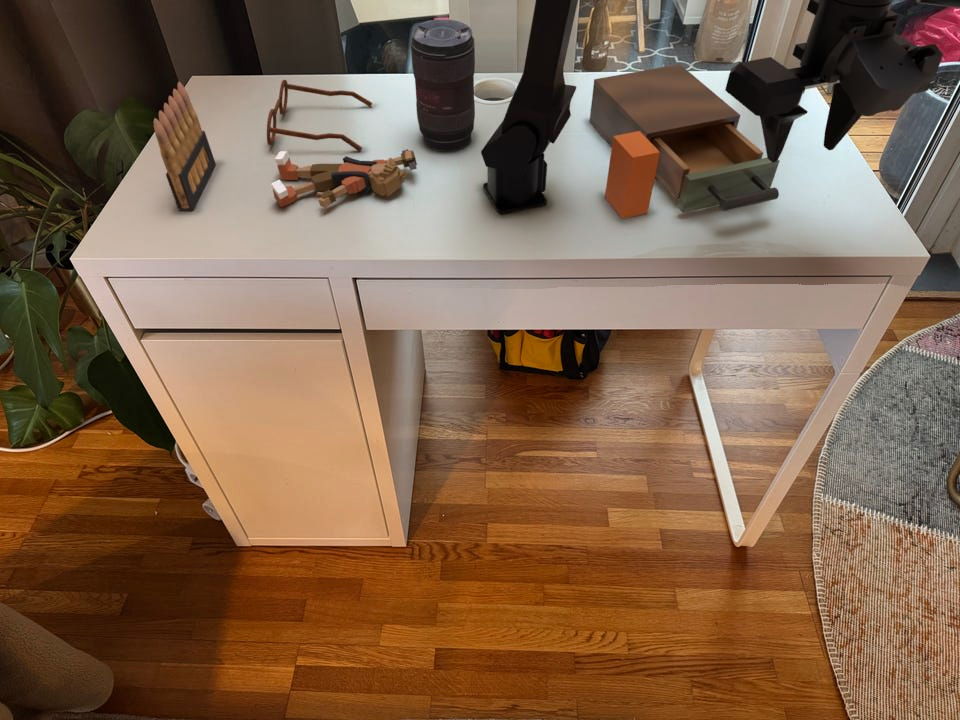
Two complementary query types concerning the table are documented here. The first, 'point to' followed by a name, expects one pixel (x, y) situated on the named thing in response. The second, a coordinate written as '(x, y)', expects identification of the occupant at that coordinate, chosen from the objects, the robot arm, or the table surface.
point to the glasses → (299, 134)
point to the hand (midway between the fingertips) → (800, 154)
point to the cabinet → (656, 104)
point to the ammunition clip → (184, 149)
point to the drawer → (714, 168)
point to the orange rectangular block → (631, 174)
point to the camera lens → (444, 82)
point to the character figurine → (342, 177)
